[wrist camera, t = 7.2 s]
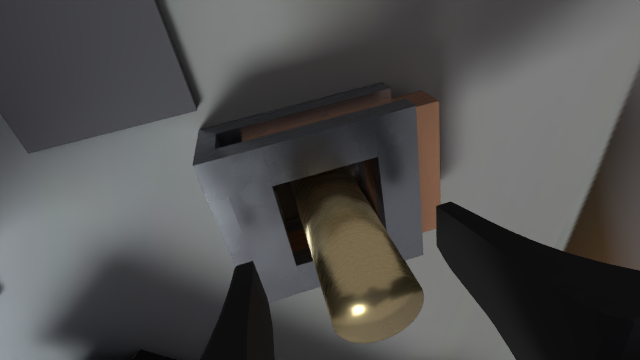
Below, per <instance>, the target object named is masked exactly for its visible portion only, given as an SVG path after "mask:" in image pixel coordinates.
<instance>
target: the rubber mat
mask: <svg viewBox="0 0 640 360" xmlns="http://www.w3.org/2000/svg"><path fill="white" fill-rule="evenodd" d="M193 111H197V105H196V102H195V100H194V97H193V95H192V92H191V89H190V87H189V84H188V82H187V79H186V76H185V74H184V71H183V69H182V66H181V63H180V61H179V58H178V56H177V53H176V50H175V48H174V45H173V42H172V40H171V37H170V35H169V32H168V29H167V27H166V24H165V22H164V19H163V16H162V14H161V11H160V9H159V6H158V3H157V1H156V0H0V113H1V115H2V116H3V118H4V119H5V121H6V122H7V124H8V125H9V126H10V128H11V129H12V131H13V132H14V134H15V135H16V137H17V138H18V139H19V141H20V142H21V144H22V145H23V147H24V148H25V150H26V151H27V152H28V153H32V152H36V151H40V150H44V149H48V148H51V147H55V146H59V145H63V144H67V143H71V142H75V141H79V140H83V139H87V138H91V137H95V136H99V135H103V134H107V133H111V132H114V131H118V130H122V129H126V128H130V127H134V126H138V125H142V124H146V123H150V122H154V121H158V120H162V119H166V118H170V117H174V116H177V115H181V114H185V113H189V112H193Z"/></svg>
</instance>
